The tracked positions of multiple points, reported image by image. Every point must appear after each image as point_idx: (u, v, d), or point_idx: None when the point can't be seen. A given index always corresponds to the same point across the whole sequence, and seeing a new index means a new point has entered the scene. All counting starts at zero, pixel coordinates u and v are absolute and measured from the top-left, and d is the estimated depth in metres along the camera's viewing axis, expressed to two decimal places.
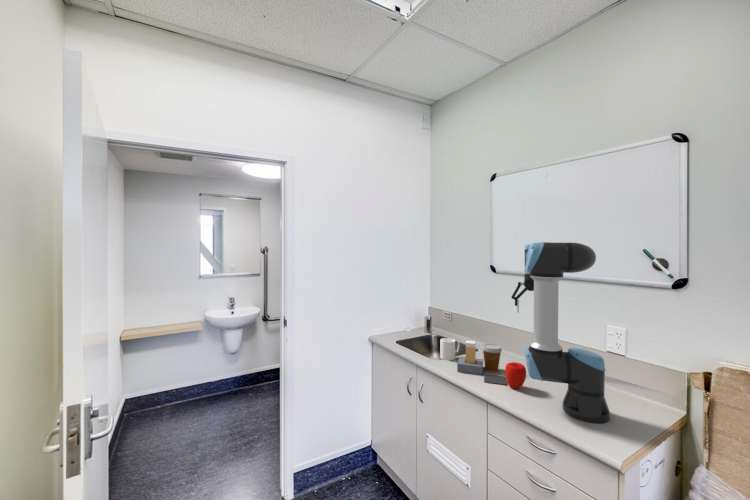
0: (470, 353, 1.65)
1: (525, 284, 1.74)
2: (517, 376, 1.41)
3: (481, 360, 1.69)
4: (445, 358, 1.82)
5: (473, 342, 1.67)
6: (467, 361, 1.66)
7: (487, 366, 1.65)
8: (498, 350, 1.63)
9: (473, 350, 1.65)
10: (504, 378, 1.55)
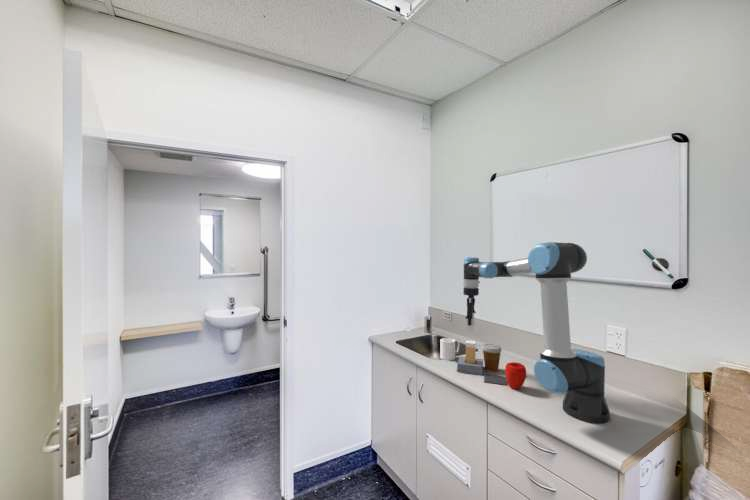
0: (470, 353, 1.65)
1: None
2: (517, 376, 1.41)
3: (481, 360, 1.69)
4: (445, 358, 1.82)
5: (473, 342, 1.67)
6: (467, 361, 1.66)
7: (487, 366, 1.65)
8: (498, 350, 1.63)
9: (473, 350, 1.65)
10: (504, 378, 1.55)
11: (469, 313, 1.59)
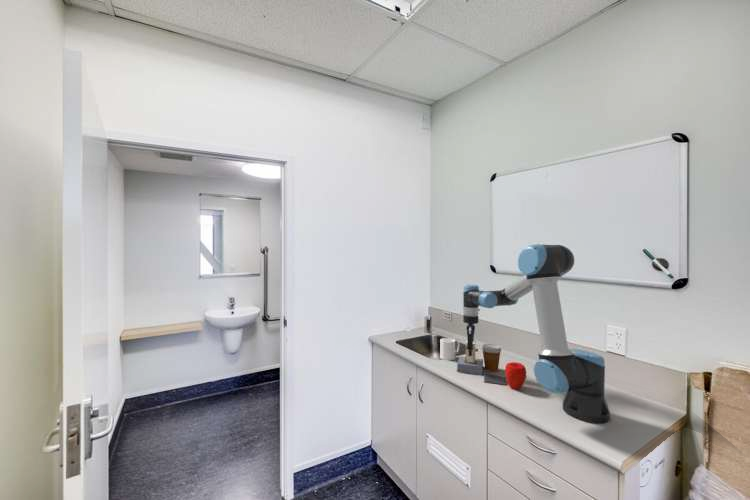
0: None
1: None
2: (517, 376, 1.41)
3: (481, 360, 1.69)
4: (445, 358, 1.82)
5: (473, 342, 1.67)
6: None
7: (487, 366, 1.65)
8: (498, 350, 1.63)
9: (473, 350, 1.65)
10: (504, 378, 1.55)
11: (469, 345, 1.62)
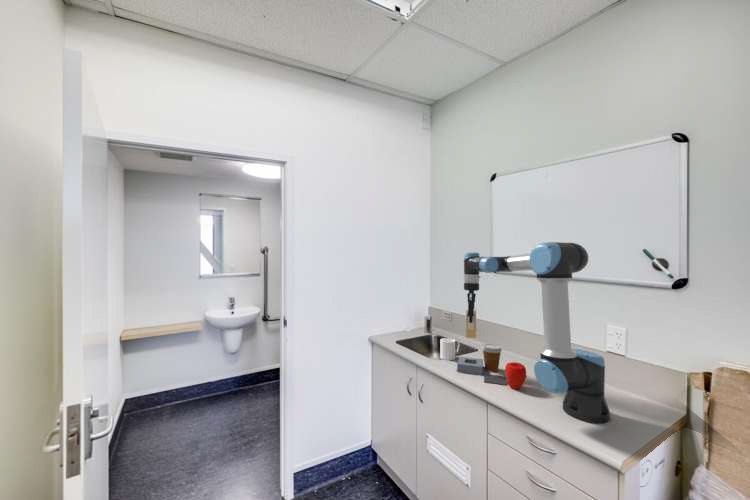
0: None
1: None
2: (517, 376, 1.41)
3: (481, 360, 1.69)
4: (445, 358, 1.82)
5: (474, 309, 1.67)
6: None
7: (487, 366, 1.65)
8: (498, 350, 1.63)
9: (474, 317, 1.65)
10: (504, 378, 1.55)
11: (470, 311, 1.62)
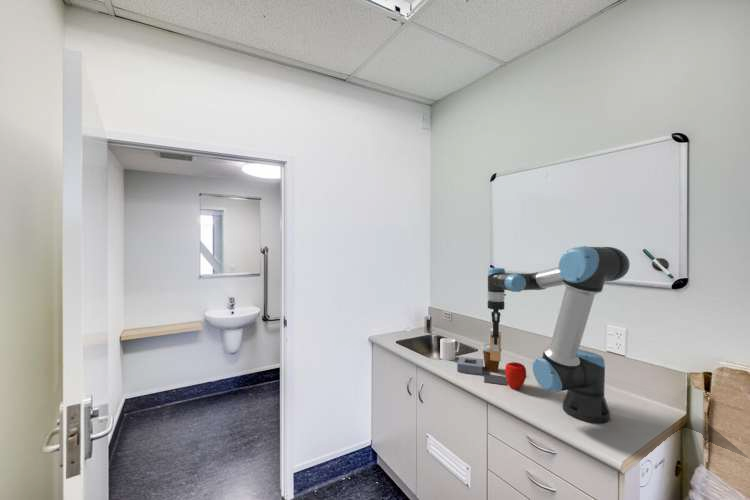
0: None
1: None
2: (517, 376, 1.41)
3: (481, 360, 1.69)
4: (445, 358, 1.82)
5: None
6: None
7: (487, 366, 1.65)
8: None
9: (499, 338, 1.51)
10: (504, 378, 1.55)
11: (495, 332, 1.48)
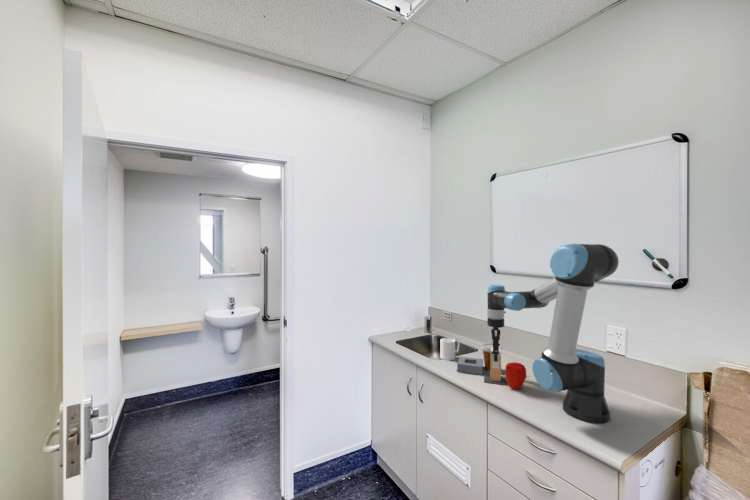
0: None
1: None
2: (517, 376, 1.41)
3: (481, 360, 1.69)
4: (445, 358, 1.82)
5: None
6: (492, 370, 1.52)
7: (487, 366, 1.65)
8: None
9: (499, 358, 1.51)
10: (504, 378, 1.55)
11: (495, 348, 1.46)
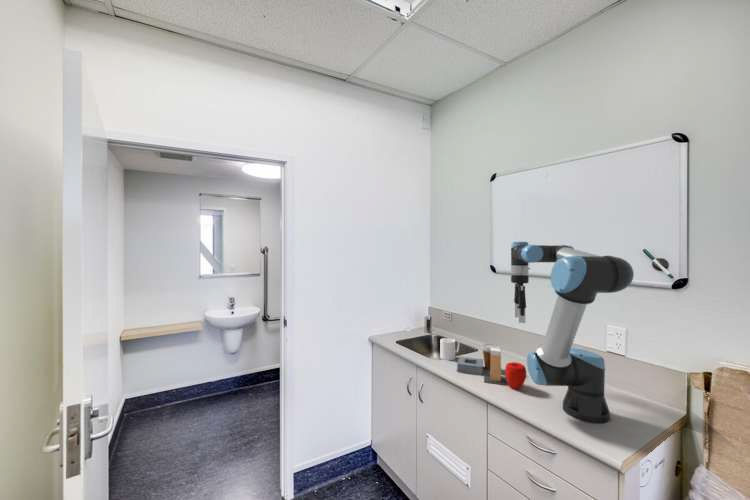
0: (495, 361, 1.52)
1: (516, 286, 1.56)
2: (517, 376, 1.41)
3: (481, 360, 1.69)
4: (445, 358, 1.82)
5: (498, 350, 1.53)
6: (492, 370, 1.52)
7: (487, 366, 1.65)
8: None
9: (499, 358, 1.51)
10: (504, 378, 1.55)
11: (522, 302, 1.43)
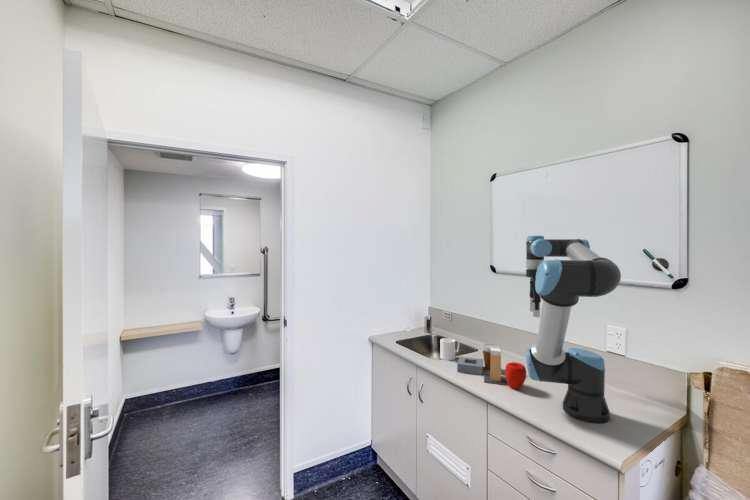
0: (495, 361, 1.52)
1: (531, 280, 1.55)
2: (517, 376, 1.41)
3: (481, 360, 1.69)
4: (445, 358, 1.82)
5: (498, 350, 1.53)
6: (492, 370, 1.52)
7: (487, 366, 1.65)
8: None
9: (499, 358, 1.51)
10: (504, 378, 1.55)
11: (537, 296, 1.43)
